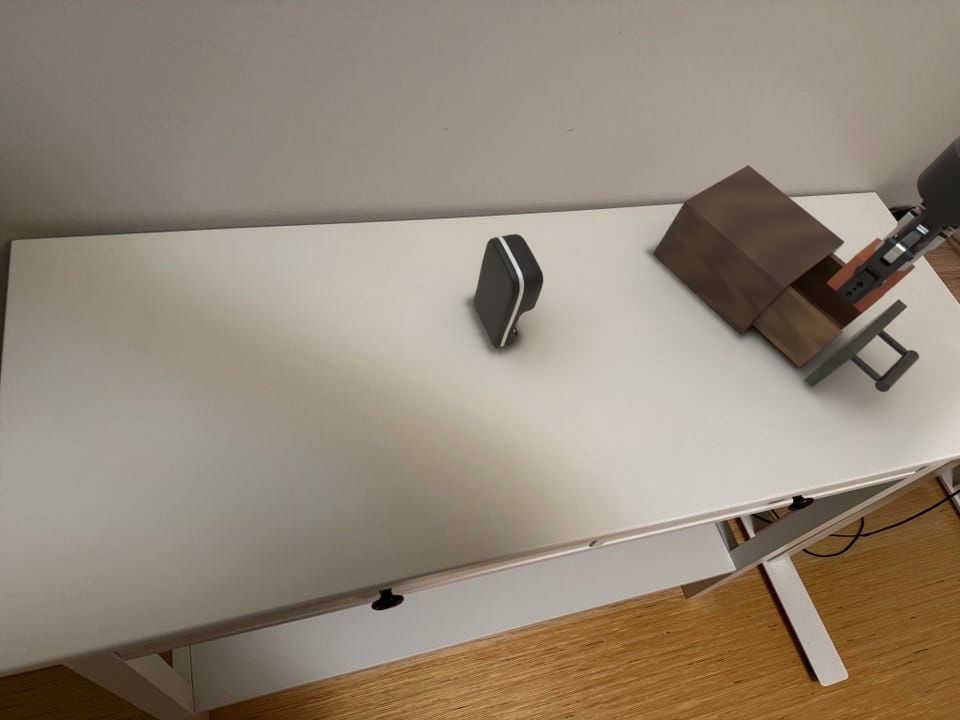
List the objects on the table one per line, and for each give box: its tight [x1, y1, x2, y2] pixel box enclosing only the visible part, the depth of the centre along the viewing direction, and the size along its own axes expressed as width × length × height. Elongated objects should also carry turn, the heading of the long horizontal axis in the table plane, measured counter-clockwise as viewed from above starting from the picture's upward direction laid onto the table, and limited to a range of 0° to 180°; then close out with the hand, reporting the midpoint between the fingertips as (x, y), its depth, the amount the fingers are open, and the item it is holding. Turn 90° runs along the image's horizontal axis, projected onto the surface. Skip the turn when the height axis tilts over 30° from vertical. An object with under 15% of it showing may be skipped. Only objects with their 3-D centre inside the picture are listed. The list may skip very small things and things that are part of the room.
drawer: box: [752, 253, 920, 393], centre depth 67 cm, size 18×11×7 cm, turn 39°
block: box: [827, 237, 916, 313], centre depth 61 cm, size 5×5×5 cm
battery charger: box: [473, 233, 544, 348], centre depth 60 cm, size 7×4×11 cm, turn 22°
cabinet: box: [652, 164, 845, 335], centre depth 71 cm, size 15×13×9 cm
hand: (857, 287), depth 63 cm, fingers closed on block, 4 cm apart
